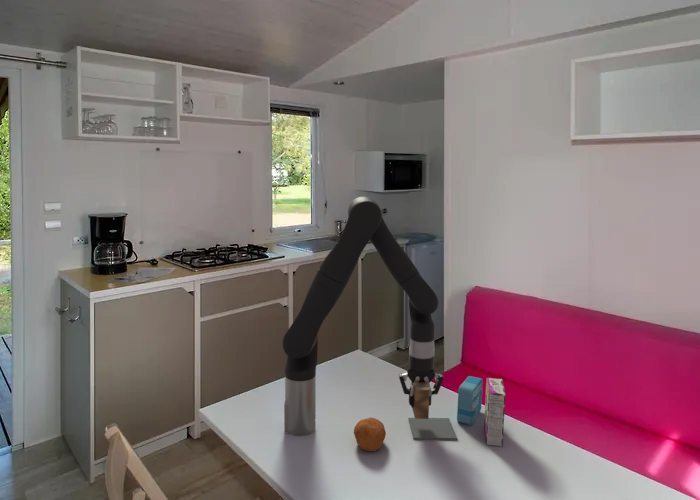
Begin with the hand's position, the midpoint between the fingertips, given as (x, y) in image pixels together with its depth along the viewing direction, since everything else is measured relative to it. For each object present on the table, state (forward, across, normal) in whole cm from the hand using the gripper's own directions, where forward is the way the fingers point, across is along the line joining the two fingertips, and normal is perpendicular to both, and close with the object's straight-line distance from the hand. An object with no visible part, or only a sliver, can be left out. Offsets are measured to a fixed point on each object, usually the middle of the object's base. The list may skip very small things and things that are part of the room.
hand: (419, 405), depth 156 cm
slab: (+2, 0, 0) cm, 2 cm away
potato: (+8, -16, -9) cm, 20 cm away
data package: (+8, +17, +8) cm, 21 cm away
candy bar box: (+8, +22, -4) cm, 23 cm away
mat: (+7, +4, 0) cm, 8 cm away
